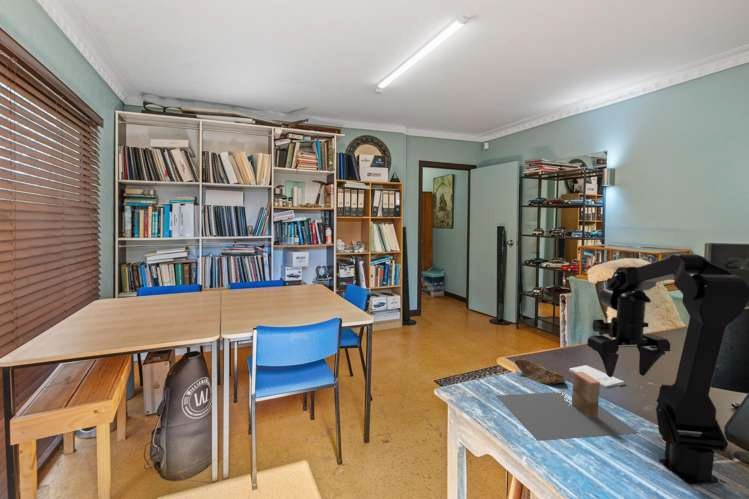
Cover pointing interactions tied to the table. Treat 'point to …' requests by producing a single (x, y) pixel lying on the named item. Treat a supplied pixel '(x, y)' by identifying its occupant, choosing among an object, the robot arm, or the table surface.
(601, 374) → the external hard drive
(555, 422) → the rubber mat
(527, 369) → the decorative stone
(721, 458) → the table surface
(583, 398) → the walnut slab
